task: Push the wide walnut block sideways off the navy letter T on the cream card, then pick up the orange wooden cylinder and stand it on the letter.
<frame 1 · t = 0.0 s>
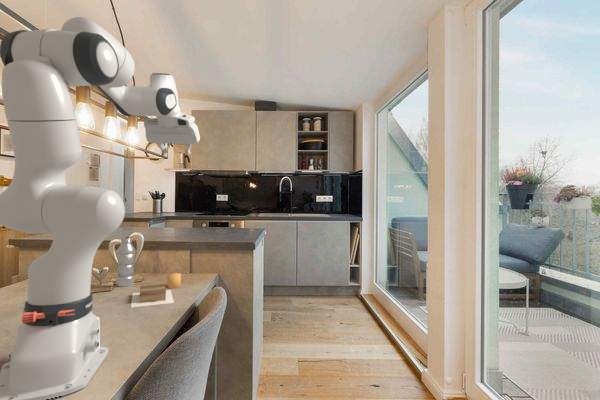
hand: (176, 153, 125), 54 cm above the table, tool tilted 30°, fingers open, 8 cm apart
plastic bottle: (125, 287, 125), on the table
orange cylinder: (173, 289, 125), on the table
letter card: (152, 300, 111), on the table
walnut block: (152, 297, 111), point 1 cm above the table, touching letter card
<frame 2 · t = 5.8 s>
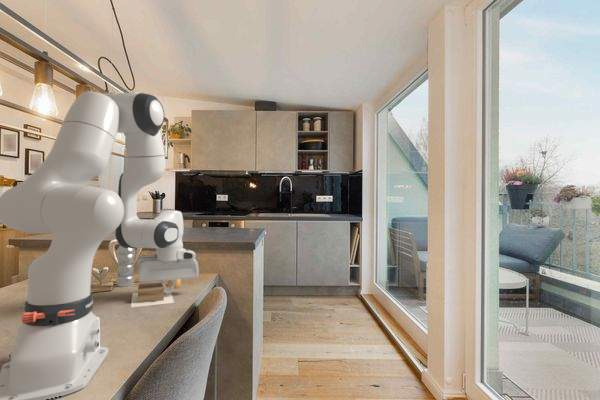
hand: (168, 292, 113), 3 cm above the table, tool pointing down, fingers closed
walnut block: (150, 297, 111), point 1 cm above the table, touching gripper
everything else where it was.
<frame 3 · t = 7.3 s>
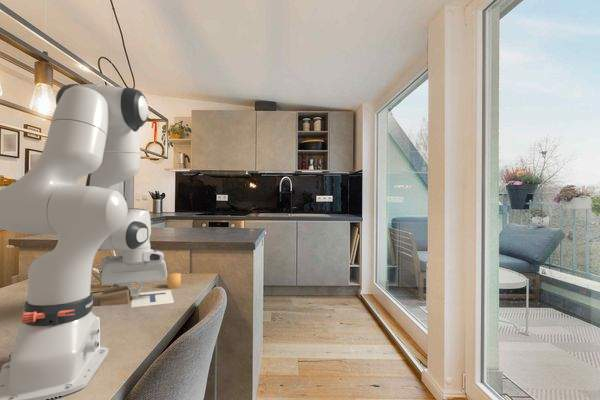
hand: (135, 295, 108), 3 cm above the table, tool pointing down, fingers closed
walnut block: (117, 301, 107), point 1 cm above the table, tilted 7°, touching gripper
everything else where it was.
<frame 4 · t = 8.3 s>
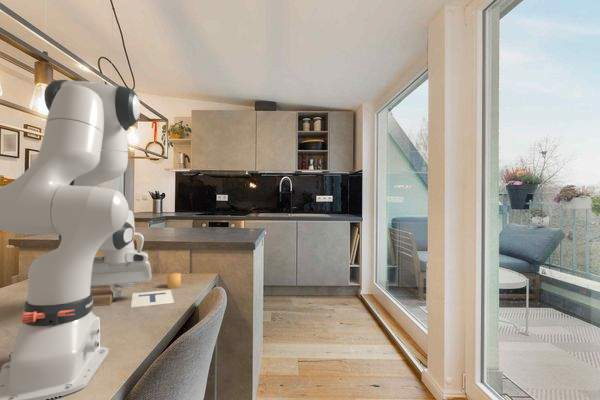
hand: (118, 296, 106), 3 cm above the table, tool pointing down, fingers closed
walnut block: (99, 305, 105), on the table, touching gripper
everything else where it was.
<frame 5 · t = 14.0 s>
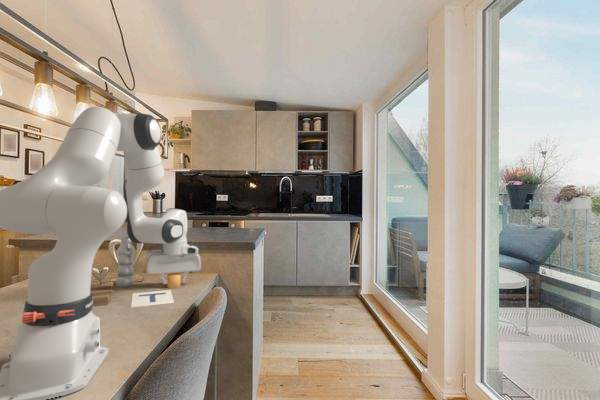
hand: (174, 283, 125), 2 cm above the table, tool pointing down, fingers closed on orange cylinder, 5 cm apart
orange cylinder: (173, 289, 125), on the table, touching gripper
walnut block: (96, 305, 105), on the table
everything else where it was.
when the fingers open (5 cm above the table, at t = 19.9 s): orange cylinder drops 1 cm, resting on letter card.
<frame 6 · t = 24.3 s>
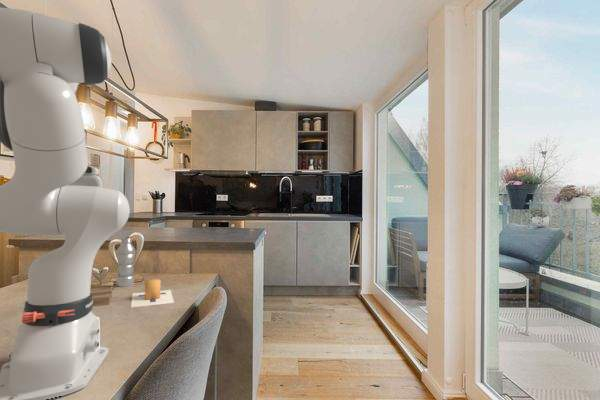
hand: (63, 213, 95), 31 cm above the table, tool pointing down, fingers open, 8 cm apart
orange cylinder: (152, 297, 111), point 1 cm above the table, touching letter card
everything else where it was.
at the end: orange cylinder 0.0 cm off-centre on the letter card, point 1.0 cm above the letter card's base; orange cylinder tilted 0°; walnut block inside the target area (4.9 cm from its centre), on the table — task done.
